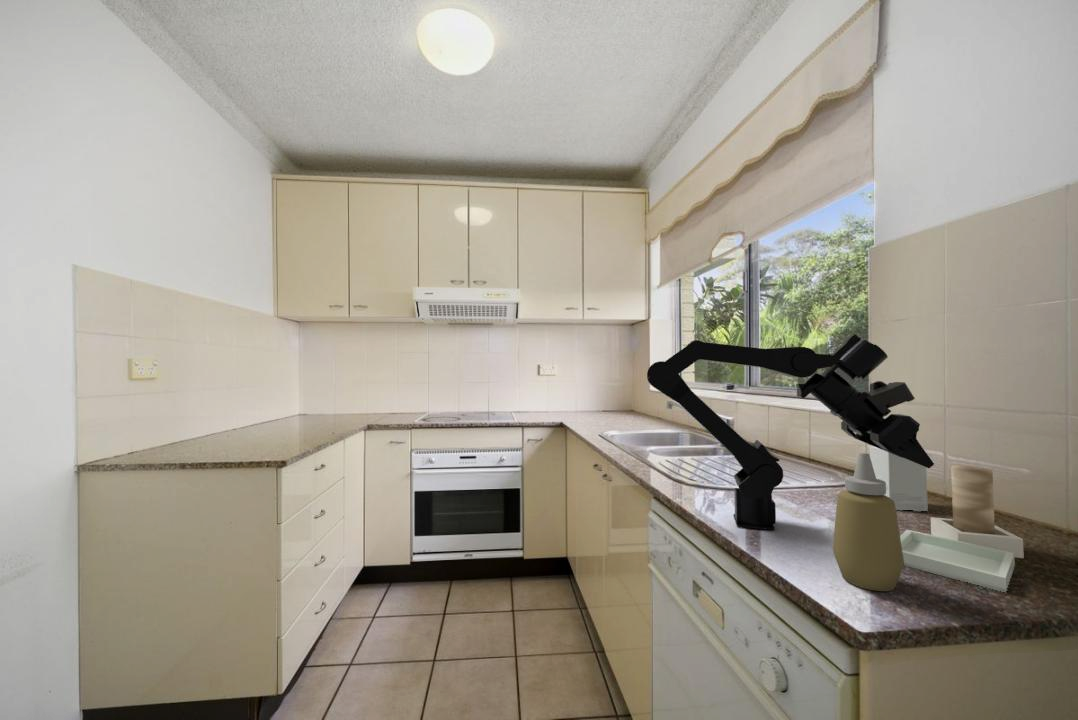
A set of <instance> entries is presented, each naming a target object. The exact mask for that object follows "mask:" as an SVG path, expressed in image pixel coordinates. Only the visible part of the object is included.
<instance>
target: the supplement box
mask: <svg viewBox="0 0 1078 720" xmlns="http://www.w3.org/2000/svg"><path fill="white" fill-rule="evenodd" d="M869 455H870V459H871V462H872V466H873V469H874V473H875V476H876V479H880V480H883V481H885V483H886V494H884V495H885V496H887V497H889V498H891V499H892V500H893V501H894V503H895V507H896V511H903V510H913V511H912V512H921V511H927V512H928V511H929V510H928V509H929V507H928V505H929V504H928V501H929V500H928V479H927V467H924V466H922V465H919V464H917V463H915V462H912V461H910V460H908V459H905V458H901V457H899V456H896V455H894V454H891V453H889V452H887V451H884V450H882V449H879V448H877V447H874V446H872V445H869Z"/></svg>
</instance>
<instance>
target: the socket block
mask: <svg viewBox="0 0 1078 720" xmlns="http://www.w3.org/2000/svg"><path fill="white" fill-rule="evenodd" d="M930 535H934V536H939V537H943V538H948V539H953V540H957V541H962V542H966V543H971V544H975V545H980V546H984V547H989V548H994V549H998V550H1003V551H1007V552H1012V553H1014V559H1024V557H1025V556H1024V554H1025V553H1024V539H1023V538H1021V537H1019V536H1017V535H1015V534H1014V533H1012V532H1010V531H1007V530H1005V529H1003V528H1001V527H999V526H997V525H995V535H992V534H981V533H970V532H961V531H960V530H958V529H956V528H954V527H953V518H944V517H933V516H932V517H931V516H930Z"/></svg>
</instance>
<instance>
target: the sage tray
mask: <svg viewBox="0 0 1078 720" xmlns="http://www.w3.org/2000/svg"><path fill="white" fill-rule="evenodd" d="M900 540H901V546H902V553H903V559H904V567H907V568H908V567H909V568H910V569H911V568H912V569H916V570H918V571H923V572H925V573H930V574H934V575H937V576H938V575H939V576H941V577H945V578H948V579H952V580H955V581H959V580H960V581H959V582H963V581H964V583H966V582H968V584H970V583H971V585H974V584H975V586H977V585H979V586H978V587H981V586H983V587H982V588H985V587H987V588H986V589H989V588H990V589H989V590H992V589H993V591H996V590H997V592H1000V591H1001V592H1000V593H1003V592H1005V593H1004V594H1007V592H1006V591H1008V589H1007V588H1009V586H1010V583H1009V582H1011V580H1010V579H1011V578H1012V577H1013V572H1014V570H1015V566H1016V565H1015V557H1014V553H1012V552H1007V551H1003V550H998V549H994V548H989V547H984V546H980V545H975V544H971V543H966V542H962V541H957V540H953V539H948V538H943V537H939V536H934V535H932V534H931V533H930V534H929V533H925V532H919V531H916V530H910V529H905V531H904V532H903V533H901V534H900ZM1008 585H1009V586H1008Z"/></svg>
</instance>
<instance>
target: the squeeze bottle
mask: <svg viewBox="0 0 1078 720" xmlns="http://www.w3.org/2000/svg"><path fill="white" fill-rule="evenodd" d="M853 472H854V473H853V475H848V476H845V477H844V488H845V490H843V491H841V492H839V493H837V499H836V509H835V519H834V527H833V529H834V530H833V531H834V532H833V539H832V540H833V541H832V552H833V555H834V558H835V561H836V564H837V565H838V566H837V567H838V568H839V571H840V574H841V576H842V578H843V579H844V580H845V581H846V582H848V583H850V584H852V585H853V586H856V587H859V588H862V589H865V590H871V591H876V592H890V591H893V590H894V589H895V588H896V586H897V583H898V580H899V579H900V576H901V573H902V571H903V569H904V567H905V566H904V559H903V553H902V546H901V540H900V536H901V533H900V528H899V527H900V526H899V522H898V521H899V520H898V514H897V510H896V507H895V503H894V501H893V500H892V499H891V498H889V497H887V496H885V495H884V494H886V483H885V481H883V480H880V479H876V476H875V473H874V469H873V466H872V462H871V459H870V453H867V452H866V453H865V452H858V457H857V460H856V465H855V469H854V471H853Z"/></svg>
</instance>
